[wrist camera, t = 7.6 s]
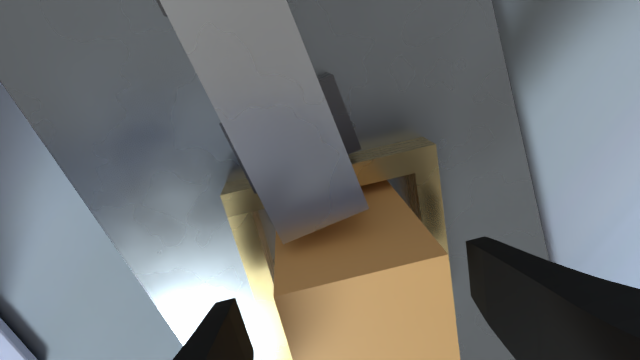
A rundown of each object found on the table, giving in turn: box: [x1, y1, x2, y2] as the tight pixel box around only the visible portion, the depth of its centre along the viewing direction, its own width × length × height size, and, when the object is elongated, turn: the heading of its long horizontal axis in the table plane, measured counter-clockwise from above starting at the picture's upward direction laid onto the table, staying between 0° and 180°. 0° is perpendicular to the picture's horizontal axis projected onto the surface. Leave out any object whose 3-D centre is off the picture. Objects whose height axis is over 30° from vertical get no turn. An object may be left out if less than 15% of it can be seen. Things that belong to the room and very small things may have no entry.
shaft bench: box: [0, 0, 549, 360], centre depth 13 cm, size 15×26×5 cm, turn 22°
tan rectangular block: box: [273, 180, 460, 360], centre depth 12 cm, size 4×4×6 cm
